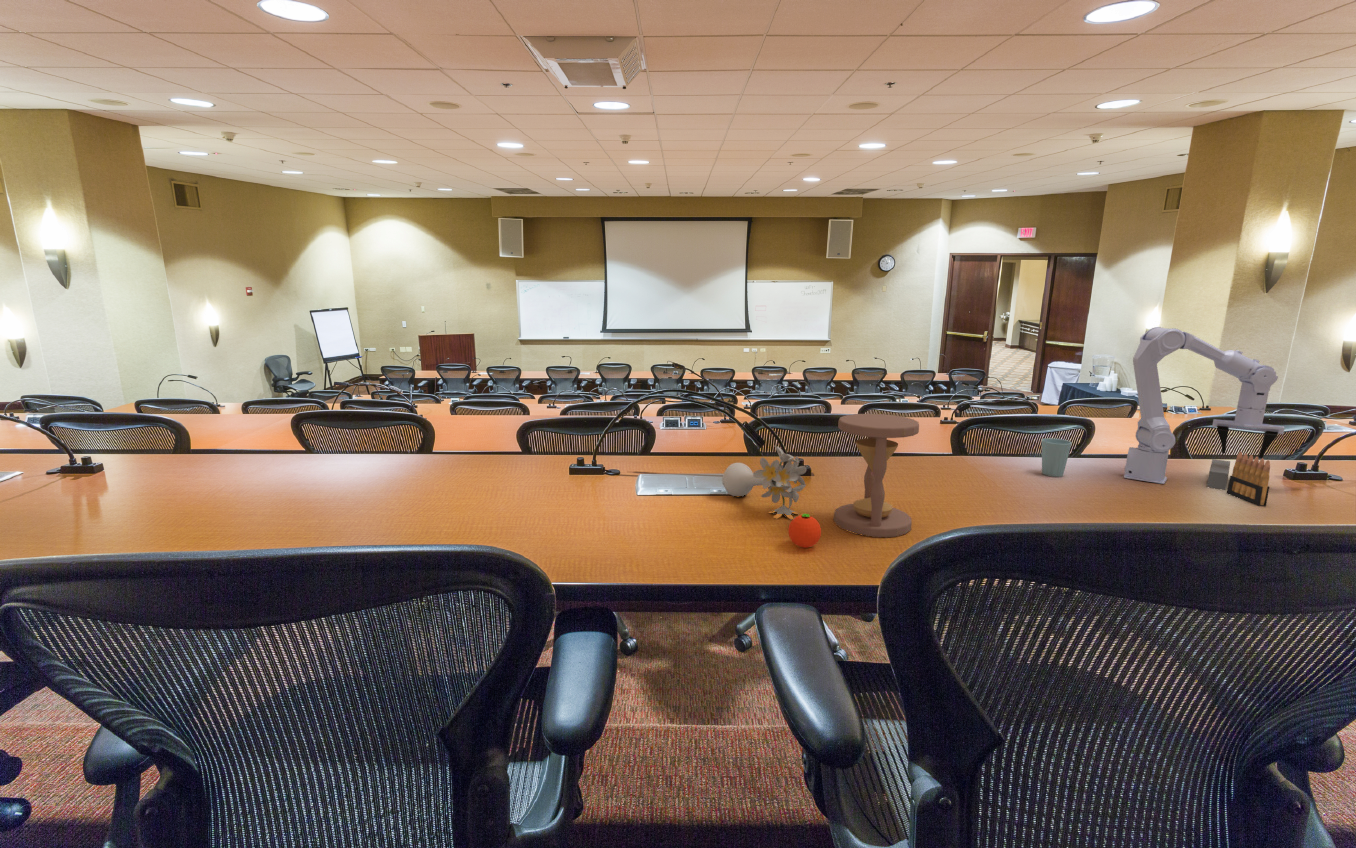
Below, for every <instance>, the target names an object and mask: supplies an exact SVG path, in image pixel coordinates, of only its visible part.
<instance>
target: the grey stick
mask: <svg viewBox="0 0 1356 848" xmlns="http://www.w3.org/2000/svg"><path fill="white" fill-rule="evenodd" d="M1230 467H1231V461H1229V460H1221V459H1217V458H1216V459H1215V458H1212V460H1211V464H1210V467H1209V472H1208V478H1207V482H1206V483H1207V484H1206V488H1207V487H1209V488H1210V489H1214V488H1215V490H1220V489H1222V490H1223V491H1227V487H1228V485H1227V484H1228V481H1229V480H1228V479H1229V475H1230ZM1209 488H1208V489H1209ZM1222 490H1221V491H1222Z"/></svg>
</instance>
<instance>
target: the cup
mask: <svg viewBox="0 0 1356 848" xmlns="http://www.w3.org/2000/svg"><path fill="white" fill-rule="evenodd" d="M1071 446H1072V441H1070V440H1067V439H1061V438H1052V437H1050V438H1047V437H1046V438H1042V439H1041V474H1042V475H1043V476H1048V477H1057V478H1060V477H1063V476H1064V474H1065V470H1066V466H1067V462H1068V459H1069V454H1070V450H1071Z"/></svg>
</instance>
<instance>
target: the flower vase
mask: <svg viewBox="0 0 1356 848" xmlns="http://www.w3.org/2000/svg"><path fill="white" fill-rule="evenodd" d="M774 448H775V450H776V452H777V454H778V456H779V457H778V458H779V460H780V461H779V460H778V459H775V460H773V461H772V462H771V463H769V461H768V460H767V459H766V458H765V457H761V458H760V460H759V464H760V467H761V469H757V470H755V471H752V469H751V468H750V467H749V466H748V465H747V464H745V463H743V462H733V463H732V464H730V465H728V467H727V468H726V469H725V471H724V472H723V474H722V479H721V482H722V485H723V487H724V489H725V490H726V492H727V493H728V494H729V495H731V496H732V497H734V496H742V497H745V496H747V495H749V494H750V492H751V491H752V490H753V488H754V487H756V486H762V489H765V490H766V489H767V491H766V492H764V493H763V494H762V495H761V497H762V498H769V497H771V501H772V503H774V504H776V503H778V502H779V501H780V499H781V498H782V506H779V507H778V508H776V509H773V510H774V511H775V512H777V514H783V515H784V514H786V515H791V514H792V512H795V511H794V510H792V509H790V508H791V506H792V504H793V501H794V503H797V502H798V501H799V498H800V494H799V493H800V492H801V491H803V490H804V489H805V487H806V486H807V484H806V482H805V480H804V478H803V477H802V475H804V474H806V472H807V467H806V466H804V465H800V466H799V463H800V460H799V457H798V456H793V455H791V454H788V453H785V452H784V450H783V449H782V448H780V447H779V446H776V445H774ZM784 462H785V465H784V466H783V467H782V464H783V463H784ZM792 463H793V464H792ZM791 482H793V483H794V484H795V485H797V483H799V485H797V486H795V487H792V483H791ZM744 495H745V496H744ZM785 498H789V501H788V502H789V503H788V507H787V506H786V501H785Z"/></svg>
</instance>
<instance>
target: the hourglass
mask: <svg viewBox="0 0 1356 848" xmlns="http://www.w3.org/2000/svg"><path fill="white" fill-rule="evenodd" d="M837 423H838V424H837V425H838V430H839V429H840V431H841V432H842V433H843V432H844V433H847V434H849V435H854V436H860V437H864V438H859V439H857V440H855V445H856V448H857V450H858V451H859V453H860V454H861V456H862V458H863V459H864V461H865V462H866V464H867V467H866V470H865V472H864V475H863V483H864V485H863V486H864V495H863V496H864V498H862V499H857V500H855V501H853V503H847V504H844V505H840V506H839V507H837V508H835V510H834V513H833V522H834V521H835V522H836V523H835V522H834V523H835V525H836V524H837V525H839V526H840V527H841V528H840V527H839V528H840V529H842V528H843V529H845V530H848V531H851V532H854V533H857V534H856V535H858V534H862V535H861V536H863V535H867V536H866V537H869V536H872V537H871V538H882V537H885V538H896V536H897V537H900V536H903V534H904V535H906V534H908V533H909V532H910V531H911V530H912V517H911V516H910V515H909V514H908V513H907V512H905V511H903V510H901V509H899V508H896V507H893V505H892V504H891V503H889V502H887V501H885V497H886V494H885V493H886V492H885V487H884V484H883V483H884V482H883V480H884V476H885V474H886V472H887V467H888V464H887V463H888V460H890V458H891V457H892V456H893V454H894V453H895V452H896V451H897V449H898V446H899V443H898V442H897V441H895V440H890V439H896V438H897V439H898V438H899V439H900V438H908V437H914V436H915V435H917V434H919V432H920V423H919V421H917V420H915V419H914V418H909V417H906V416H900V415H894V414H884V413H855V414H847V415H844V416H840V417H839V419H838V422H837ZM866 437H867V438H866ZM837 525H836V526H837ZM843 529H842V530H843ZM845 530H844V531H845ZM848 531H847V532H848ZM851 532H850V533H851ZM854 533H853V534H854ZM899 535H900V536H899Z"/></svg>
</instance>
